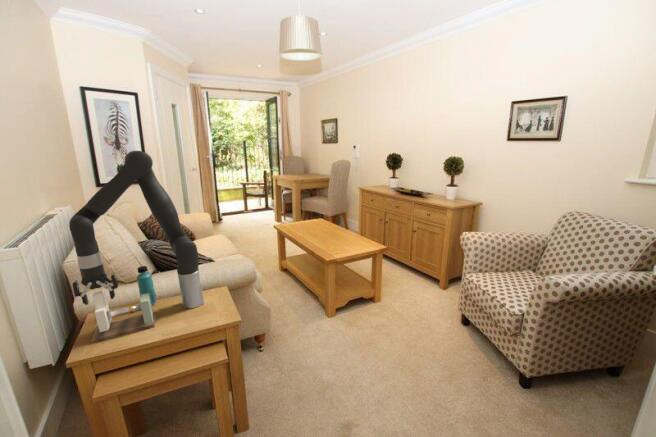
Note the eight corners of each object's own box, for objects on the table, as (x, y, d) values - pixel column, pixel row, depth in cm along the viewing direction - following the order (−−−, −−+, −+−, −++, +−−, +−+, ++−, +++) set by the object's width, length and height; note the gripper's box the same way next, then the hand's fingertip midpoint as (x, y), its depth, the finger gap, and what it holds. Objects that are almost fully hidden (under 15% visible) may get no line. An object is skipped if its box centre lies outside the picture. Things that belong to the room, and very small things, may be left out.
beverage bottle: (150, 309, 148) (142, 270, 143) (138, 308, 149) (130, 269, 144) (160, 302, 154) (153, 264, 149) (149, 301, 155) (141, 264, 150)
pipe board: (155, 314, 143) (154, 311, 142) (154, 327, 133) (154, 323, 133) (97, 329, 133) (96, 326, 133) (92, 343, 124) (91, 340, 123)
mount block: (153, 313, 141) (149, 292, 138) (152, 322, 134) (148, 300, 131) (145, 315, 139) (141, 294, 137) (144, 324, 133) (140, 302, 130)
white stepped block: (111, 319, 134) (104, 287, 130) (108, 330, 126) (100, 296, 122) (103, 321, 133) (95, 289, 129) (99, 332, 125) (91, 298, 121)
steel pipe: (147, 307, 137) (146, 301, 136) (146, 310, 134) (145, 304, 133) (97, 319, 129) (96, 312, 128) (96, 322, 126) (94, 316, 126)
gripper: (113, 257, 129) (121, 293, 133) (70, 264, 123) (80, 301, 127) (111, 263, 122) (119, 300, 126) (65, 271, 116) (75, 310, 120)
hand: (99, 301), depth 127 cm, fingers open, 8 cm apart
